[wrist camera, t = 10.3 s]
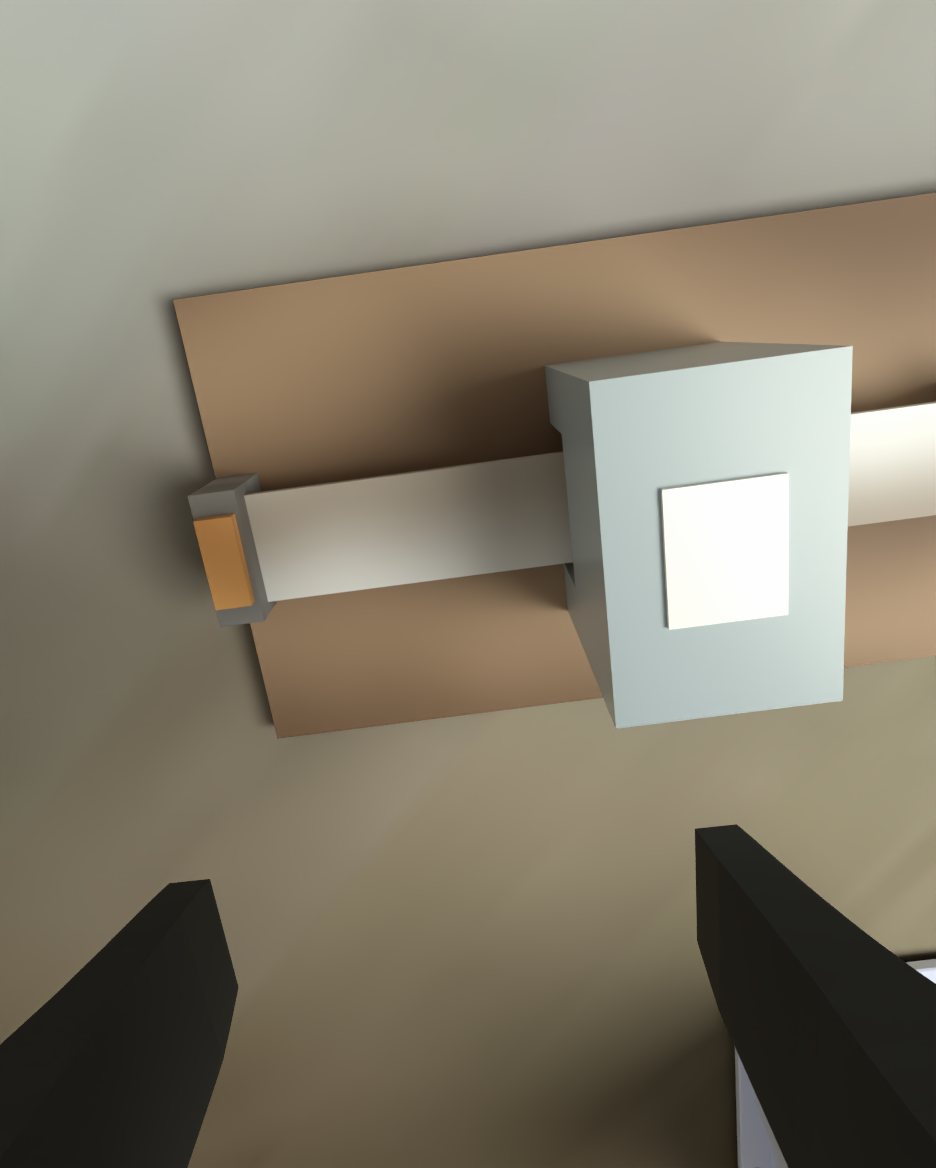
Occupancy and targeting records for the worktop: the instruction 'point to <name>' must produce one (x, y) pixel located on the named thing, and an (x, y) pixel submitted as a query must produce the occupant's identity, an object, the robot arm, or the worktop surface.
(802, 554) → the block
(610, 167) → the worktop surface
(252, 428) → the rail mount
